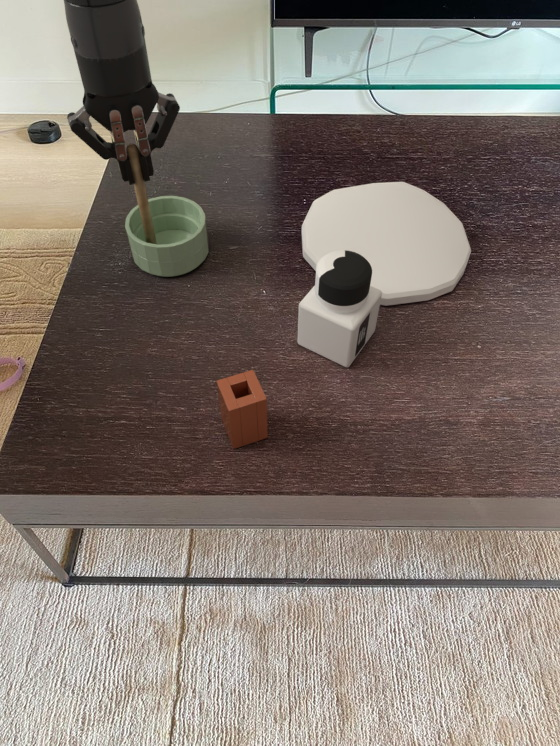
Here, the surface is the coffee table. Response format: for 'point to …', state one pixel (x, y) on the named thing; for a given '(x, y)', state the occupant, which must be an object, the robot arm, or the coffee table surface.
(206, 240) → the bowl
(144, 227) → the cooking stick
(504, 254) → the coffee table surface
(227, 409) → the utensil block
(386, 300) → the decorative plate
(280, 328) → the coffee table surface
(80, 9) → the robot arm
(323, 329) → the container
